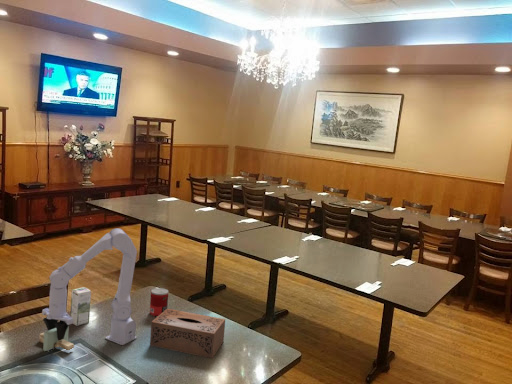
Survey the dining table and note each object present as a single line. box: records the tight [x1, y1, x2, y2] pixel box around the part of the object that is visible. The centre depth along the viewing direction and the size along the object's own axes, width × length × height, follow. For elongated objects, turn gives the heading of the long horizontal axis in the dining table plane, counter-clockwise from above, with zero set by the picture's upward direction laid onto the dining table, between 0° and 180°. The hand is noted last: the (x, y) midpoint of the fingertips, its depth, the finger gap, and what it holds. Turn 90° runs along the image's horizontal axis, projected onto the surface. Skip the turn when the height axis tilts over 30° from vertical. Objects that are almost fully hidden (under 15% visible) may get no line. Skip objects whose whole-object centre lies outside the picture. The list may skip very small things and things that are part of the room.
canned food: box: [149, 287, 169, 318], centre depth 195 cm, size 8×8×11 cm
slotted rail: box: [38, 331, 75, 350], centre depth 157 cm, size 16×2×3 cm, turn 62°
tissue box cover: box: [149, 308, 226, 359], centre depth 169 cm, size 26×14×10 cm, turn 77°
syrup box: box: [69, 286, 92, 327], centre depth 178 cm, size 6×6×14 cm
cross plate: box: [42, 325, 70, 352], centre depth 157 cm, size 9×2×7 cm, turn 152°
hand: (56, 337), depth 157 cm, fingers open, 4 cm apart
